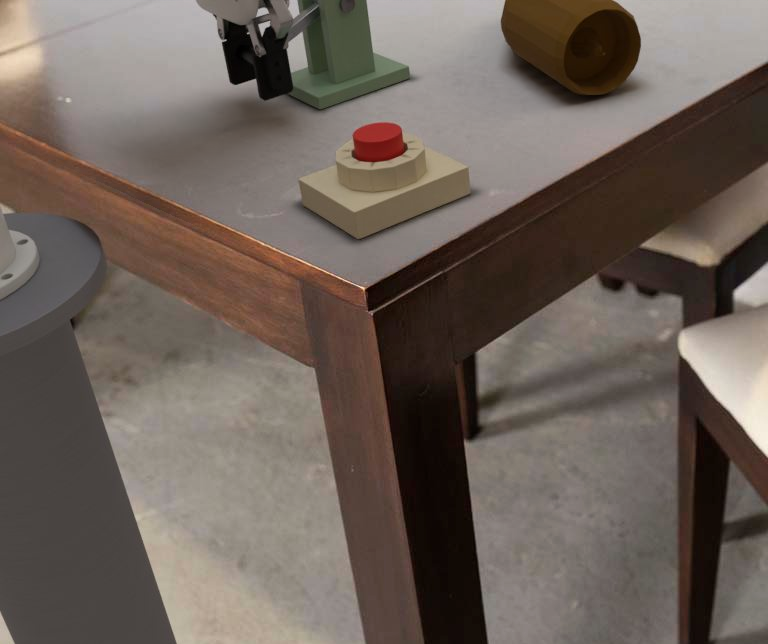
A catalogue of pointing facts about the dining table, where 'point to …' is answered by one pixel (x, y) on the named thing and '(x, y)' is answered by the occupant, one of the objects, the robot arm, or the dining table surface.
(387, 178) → the switch block
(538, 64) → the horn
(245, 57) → the lever
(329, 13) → the mains bracket
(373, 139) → the light button
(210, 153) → the dining table surface
